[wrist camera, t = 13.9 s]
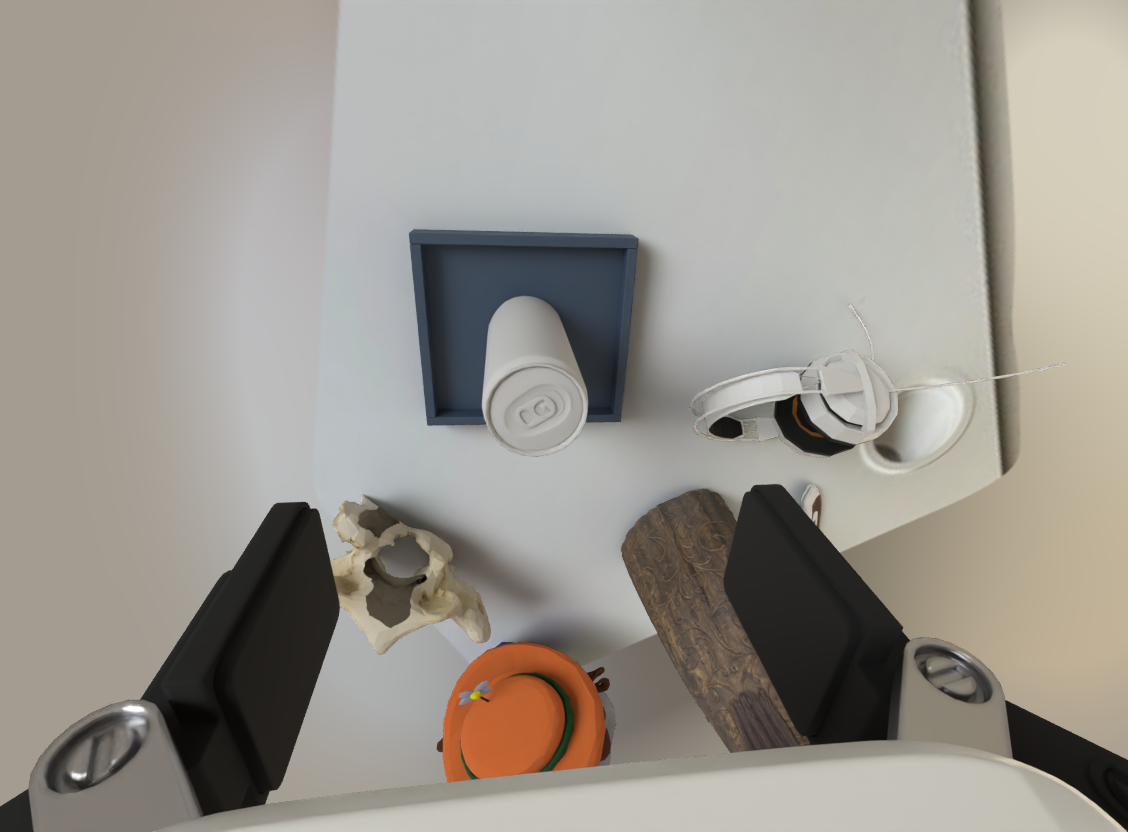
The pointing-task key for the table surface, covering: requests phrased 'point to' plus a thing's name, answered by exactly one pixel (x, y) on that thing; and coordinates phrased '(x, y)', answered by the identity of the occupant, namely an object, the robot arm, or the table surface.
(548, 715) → the toy
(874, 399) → the headphones
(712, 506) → the statue
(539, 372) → the beverage can
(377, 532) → the decorative object
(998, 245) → the table surface
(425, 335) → the tray
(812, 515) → the pocket knife
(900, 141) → the table surface
